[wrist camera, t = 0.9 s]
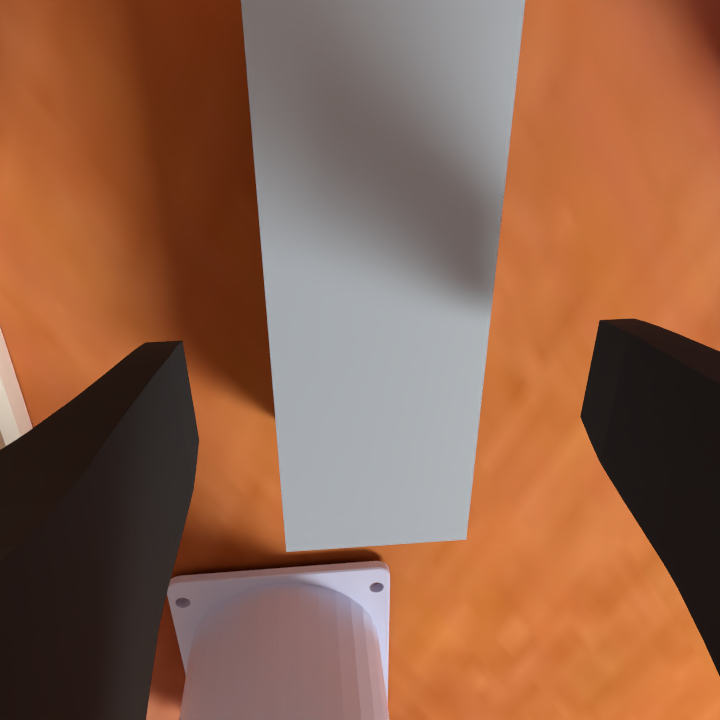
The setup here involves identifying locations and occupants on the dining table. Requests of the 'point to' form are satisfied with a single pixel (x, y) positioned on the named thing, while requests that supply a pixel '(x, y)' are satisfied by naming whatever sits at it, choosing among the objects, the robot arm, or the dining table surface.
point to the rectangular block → (379, 252)
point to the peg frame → (10, 401)
